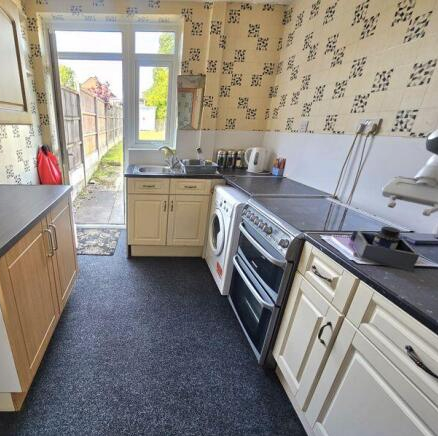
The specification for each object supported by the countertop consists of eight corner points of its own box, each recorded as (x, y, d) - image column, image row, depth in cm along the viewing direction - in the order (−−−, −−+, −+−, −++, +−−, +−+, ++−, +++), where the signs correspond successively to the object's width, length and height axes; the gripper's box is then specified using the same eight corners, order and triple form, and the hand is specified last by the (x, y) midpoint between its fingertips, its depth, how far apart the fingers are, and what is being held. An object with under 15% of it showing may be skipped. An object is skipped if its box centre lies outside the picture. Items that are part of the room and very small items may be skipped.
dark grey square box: (396, 255, 93) (404, 239, 90) (410, 273, 82) (419, 255, 79) (352, 246, 99) (358, 231, 96) (359, 262, 88) (366, 244, 85)
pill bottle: (364, 253, 92) (374, 226, 88) (376, 251, 93) (387, 224, 89) (382, 261, 87) (394, 233, 83) (395, 259, 88) (407, 231, 84)
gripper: (393, 170, 94) (370, 197, 94) (475, 181, 77) (449, 214, 77) (394, 180, 98) (372, 207, 97) (473, 193, 81) (448, 225, 80)
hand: (407, 210), depth 87 cm, fingers open, 8 cm apart
